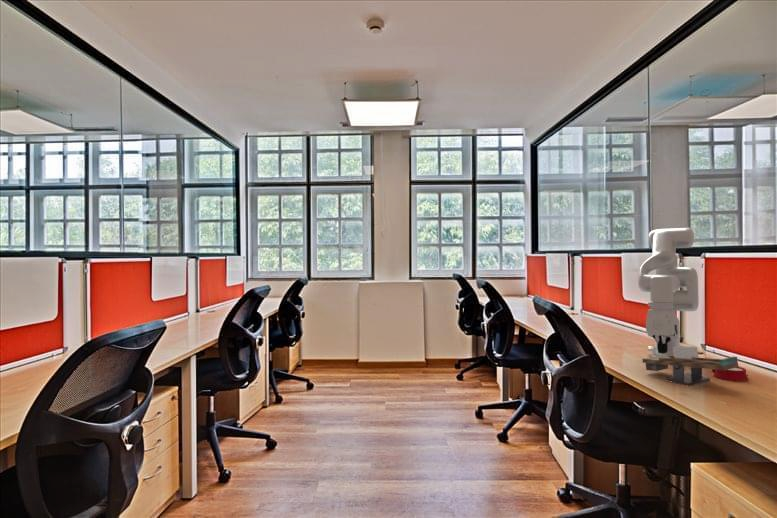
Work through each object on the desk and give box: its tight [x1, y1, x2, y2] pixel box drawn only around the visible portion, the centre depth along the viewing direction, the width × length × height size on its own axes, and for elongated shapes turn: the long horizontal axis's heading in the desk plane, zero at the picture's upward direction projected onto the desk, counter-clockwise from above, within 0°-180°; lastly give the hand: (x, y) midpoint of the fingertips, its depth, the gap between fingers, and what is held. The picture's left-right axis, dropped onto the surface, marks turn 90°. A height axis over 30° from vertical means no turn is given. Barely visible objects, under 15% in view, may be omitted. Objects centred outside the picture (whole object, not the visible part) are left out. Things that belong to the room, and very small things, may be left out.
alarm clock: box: [710, 365, 749, 383], centre depth 163 cm, size 10×6×15 cm
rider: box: [673, 345, 700, 361], centre depth 159 cm, size 6×5×5 cm
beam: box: [642, 355, 739, 372], centre depth 159 cm, size 28×10×6 cm, turn 28°
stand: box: [665, 364, 711, 387], centre depth 159 cm, size 8×15×7 cm, turn 118°
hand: (662, 352), depth 167 cm, fingers closed
